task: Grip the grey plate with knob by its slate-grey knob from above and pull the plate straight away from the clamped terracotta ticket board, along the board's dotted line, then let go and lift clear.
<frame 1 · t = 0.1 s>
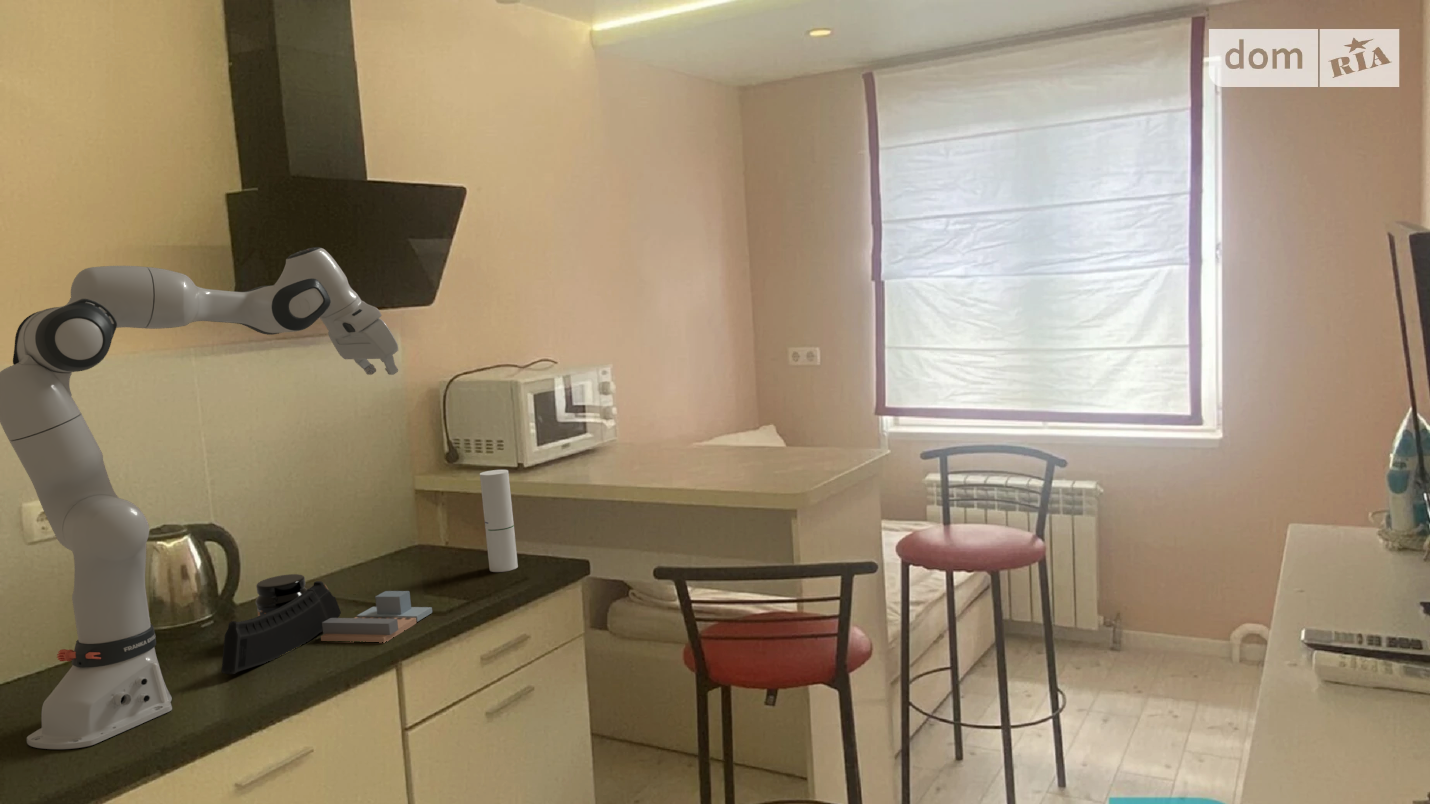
hand: (383, 373, 210), 54 cm above the worktop, tool tilted 30°, fingers open, 8 cm apart
magazine: (287, 651, 202), on the worktop
cylindrical container: (503, 568, 254), on the worktop
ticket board: (369, 632, 210), on the worktop
supplement container: (287, 635, 213), on the worktop
grey plate with knob: (393, 605, 218), point 3 cm above the worktop, slide at 0.0 cm
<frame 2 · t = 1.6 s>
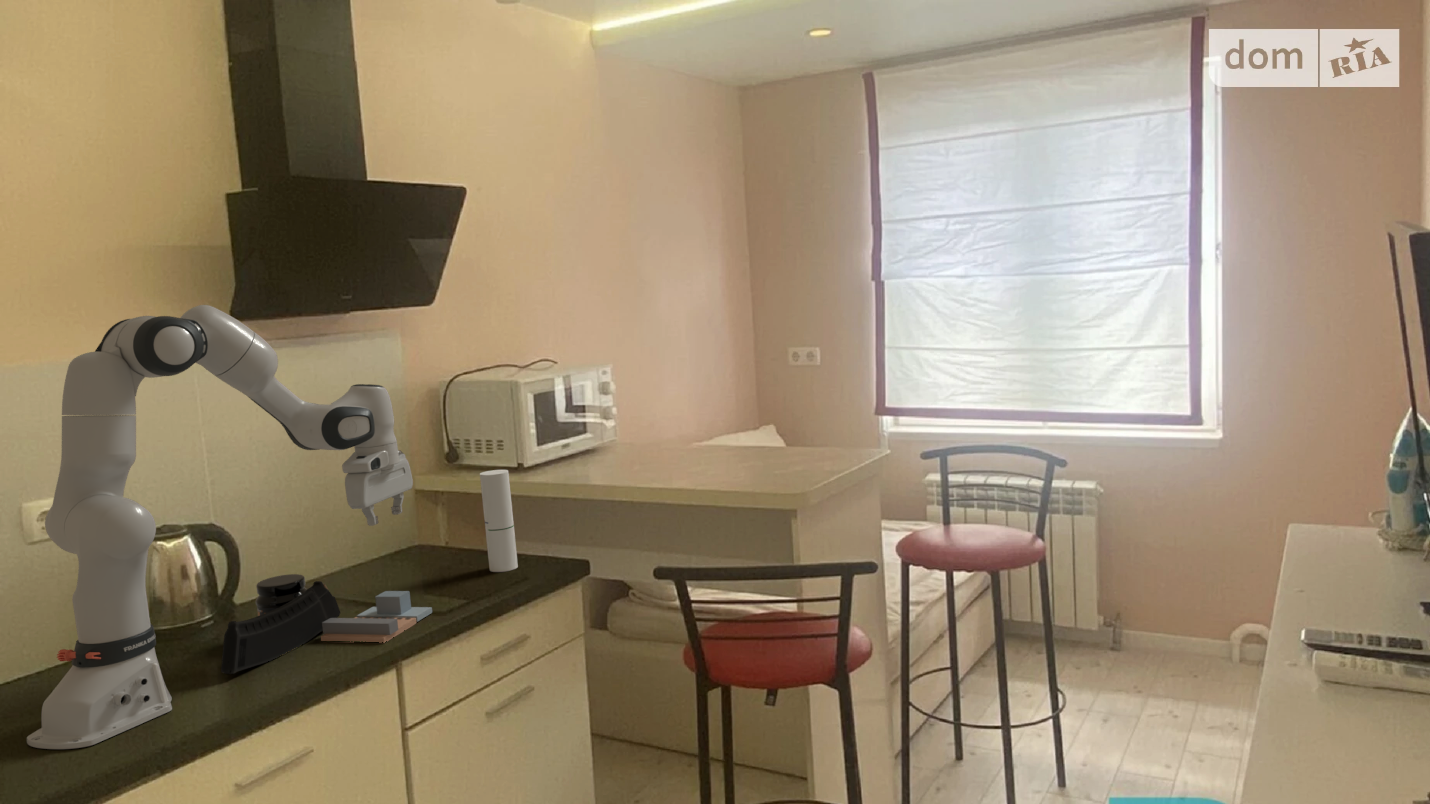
hand: (385, 519, 216), 22 cm above the worktop, tool pointing down, fingers open, 8 cm apart
nothing on the worktop moved.
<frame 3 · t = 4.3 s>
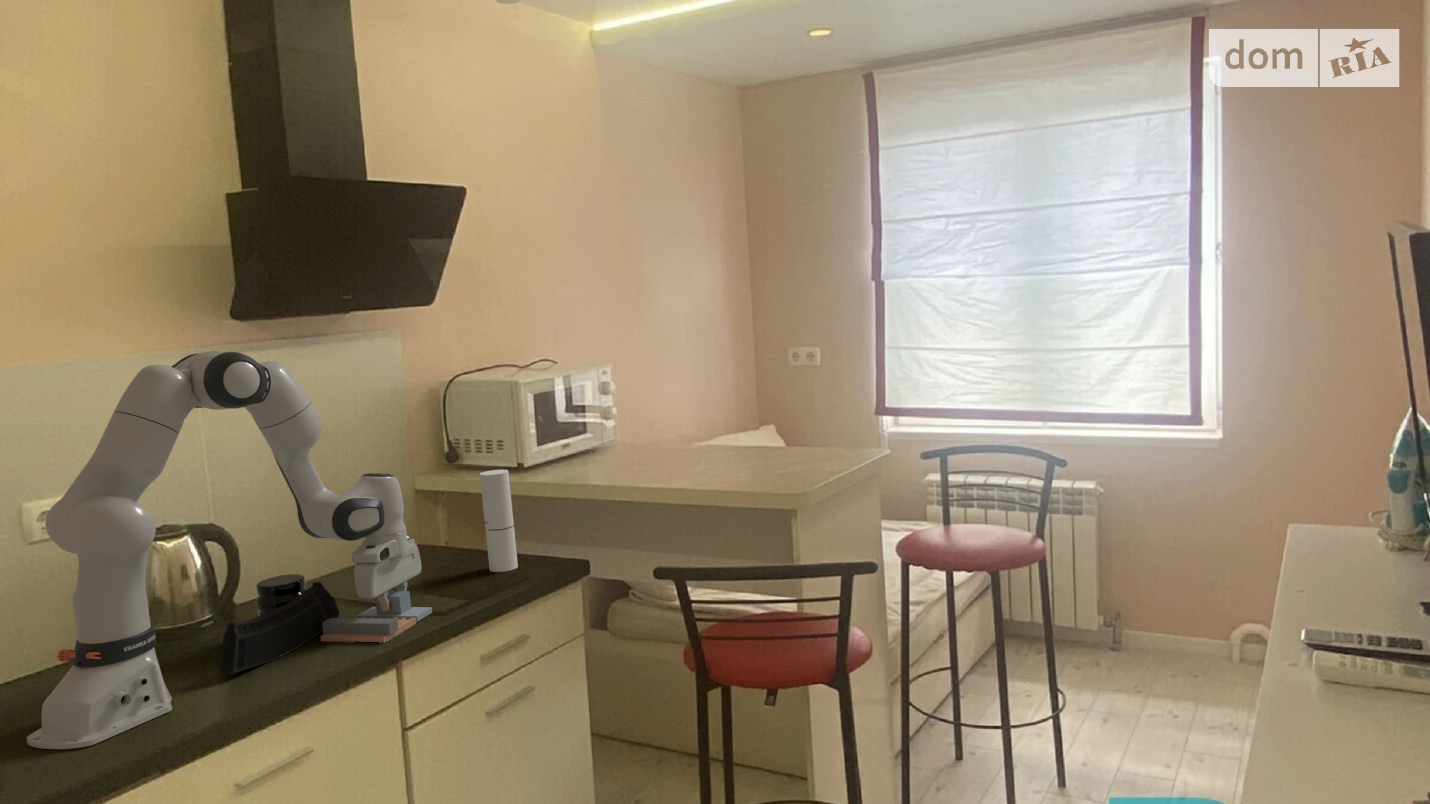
hand: (393, 606, 218), 3 cm above the worktop, tool pointing down, fingers closed on grey plate with knob, 4 cm apart
grey plate with knob: (393, 605, 218), point 3 cm above the worktop, slide at 0.0 cm, touching gripper
everything else where it was.
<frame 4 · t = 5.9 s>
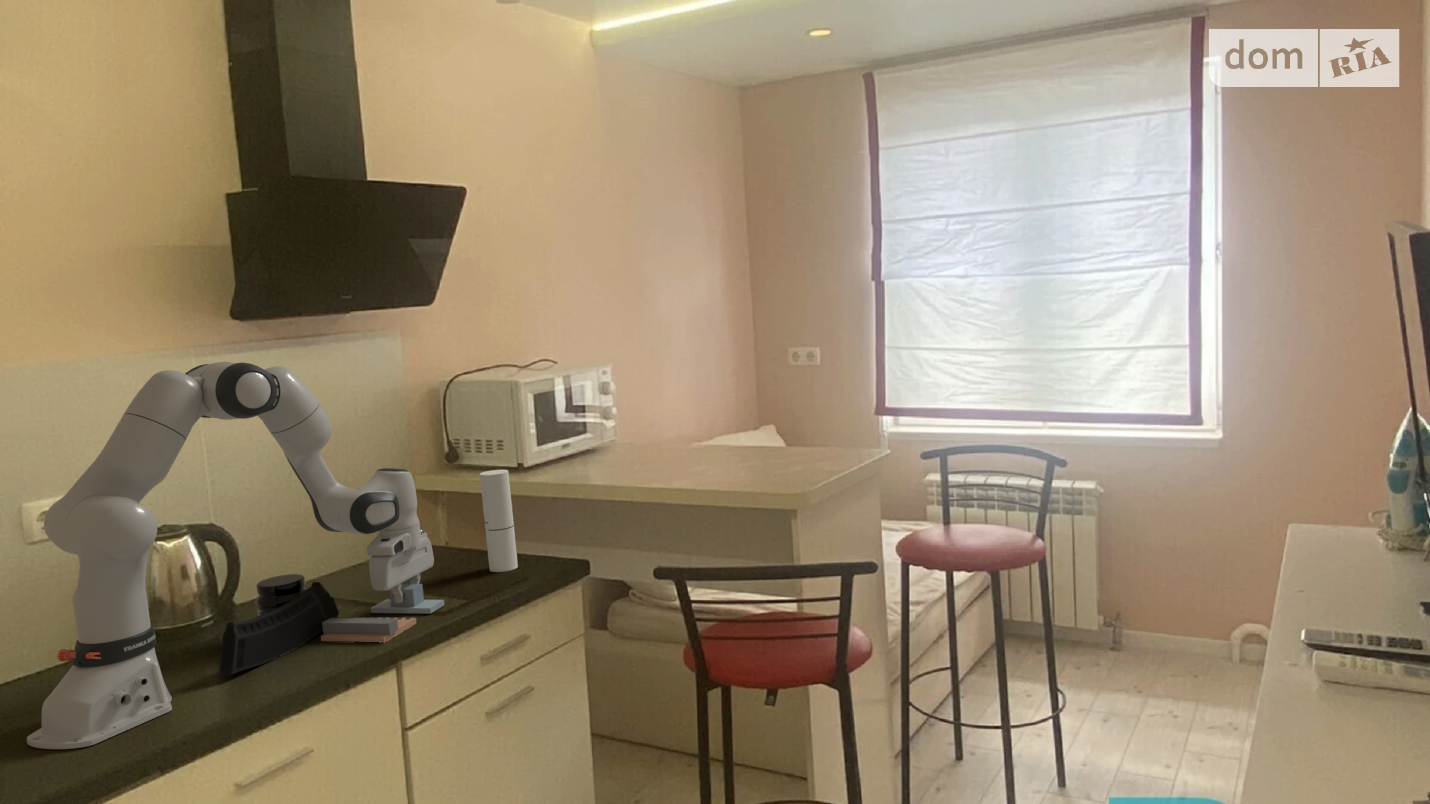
hand: (407, 598, 224), 3 cm above the worktop, tool pointing down, fingers closed on grey plate with knob, 4 cm apart
grey plate with knob: (406, 597, 223), point 3 cm above the worktop, slide at 5.3 cm, touching gripper
everything else where it was.
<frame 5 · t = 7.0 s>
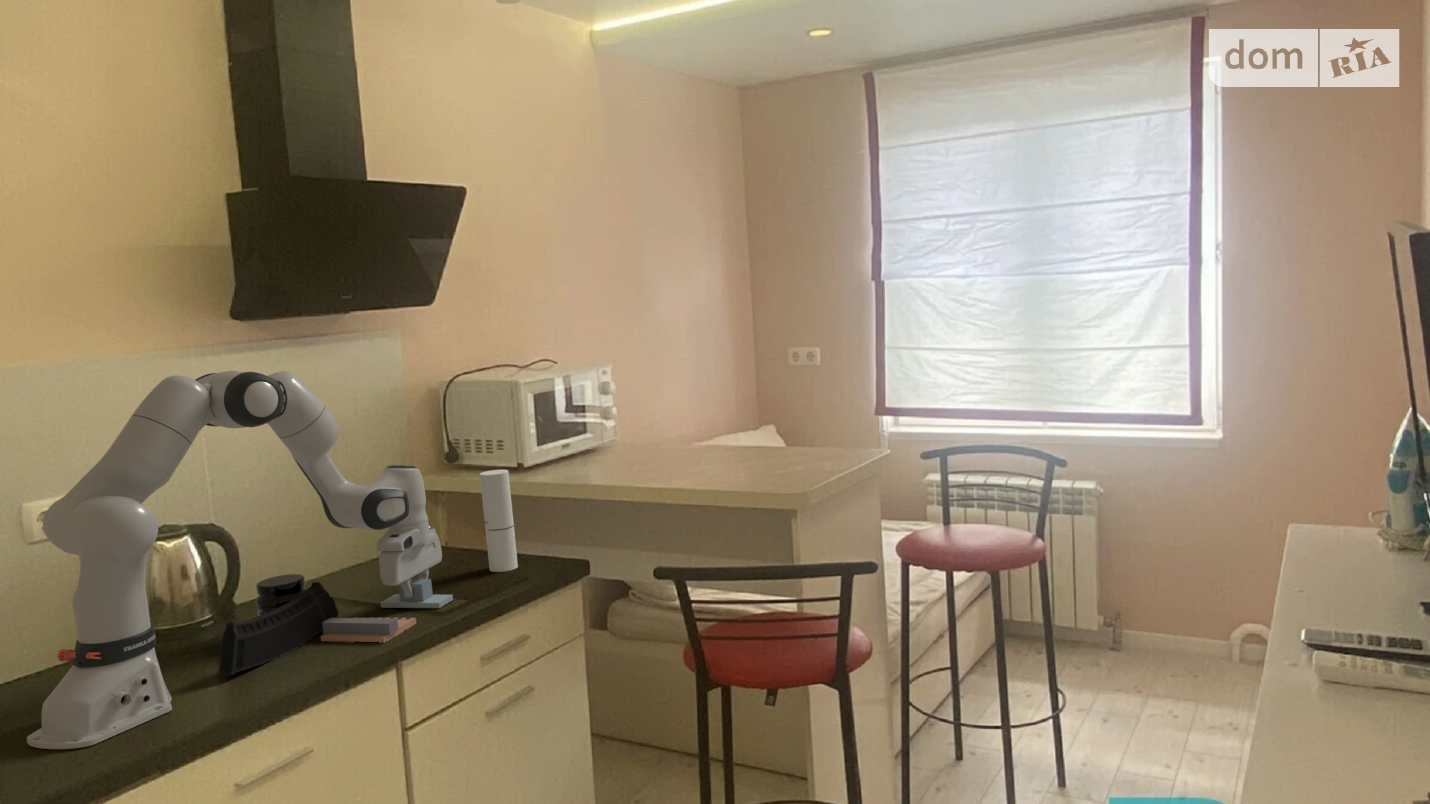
hand: (416, 593, 227), 3 cm above the worktop, tool pointing down, fingers closed on grey plate with knob, 4 cm apart
grey plate with knob: (416, 592, 227), point 3 cm above the worktop, slide at 9.0 cm, touching gripper
everything else where it was.
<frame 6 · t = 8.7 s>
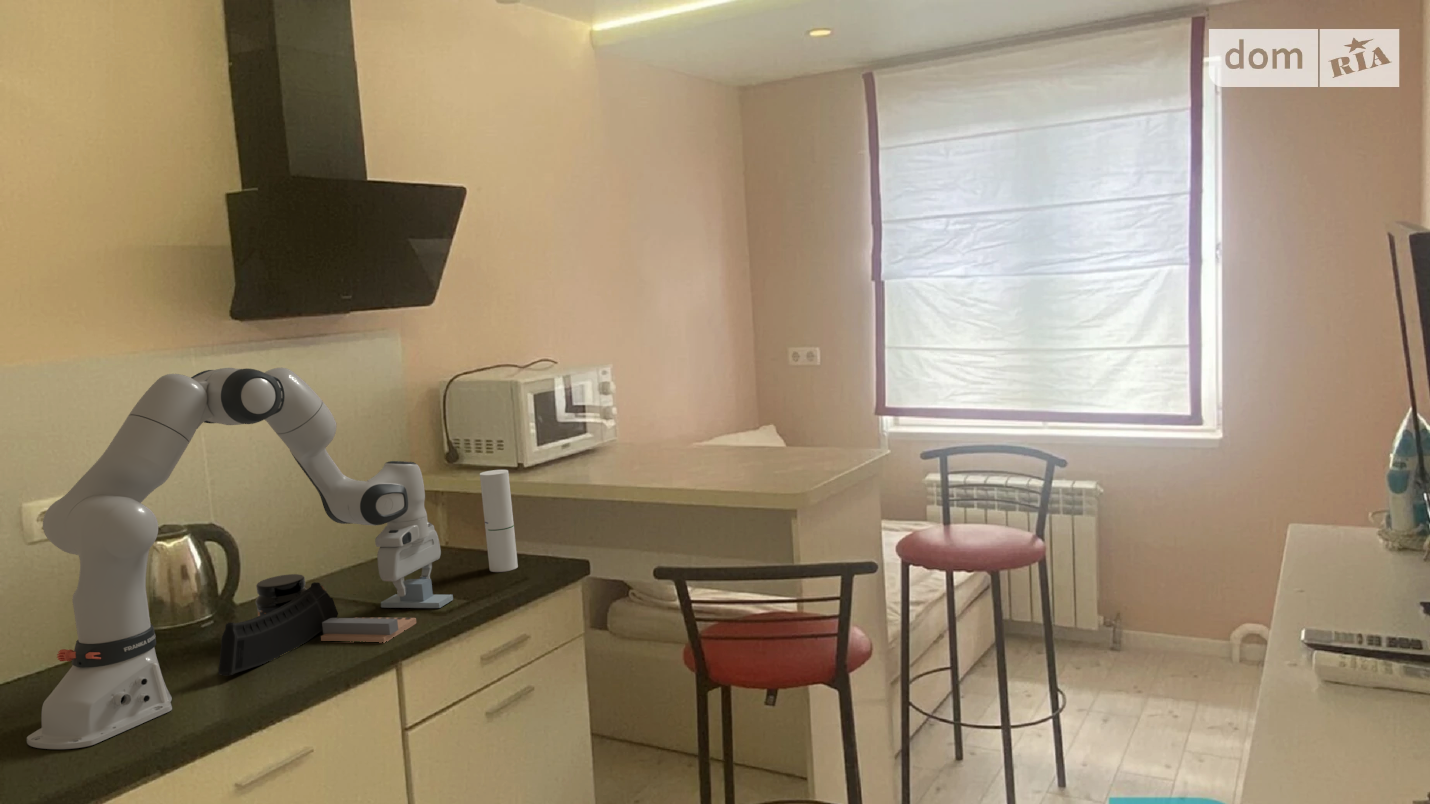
hand: (414, 589, 227), 4 cm above the worktop, tool pointing down, fingers open, 8 cm apart
grey plate with knob: (416, 592, 227), point 3 cm above the worktop, slide at 9.1 cm
everything else where it was.
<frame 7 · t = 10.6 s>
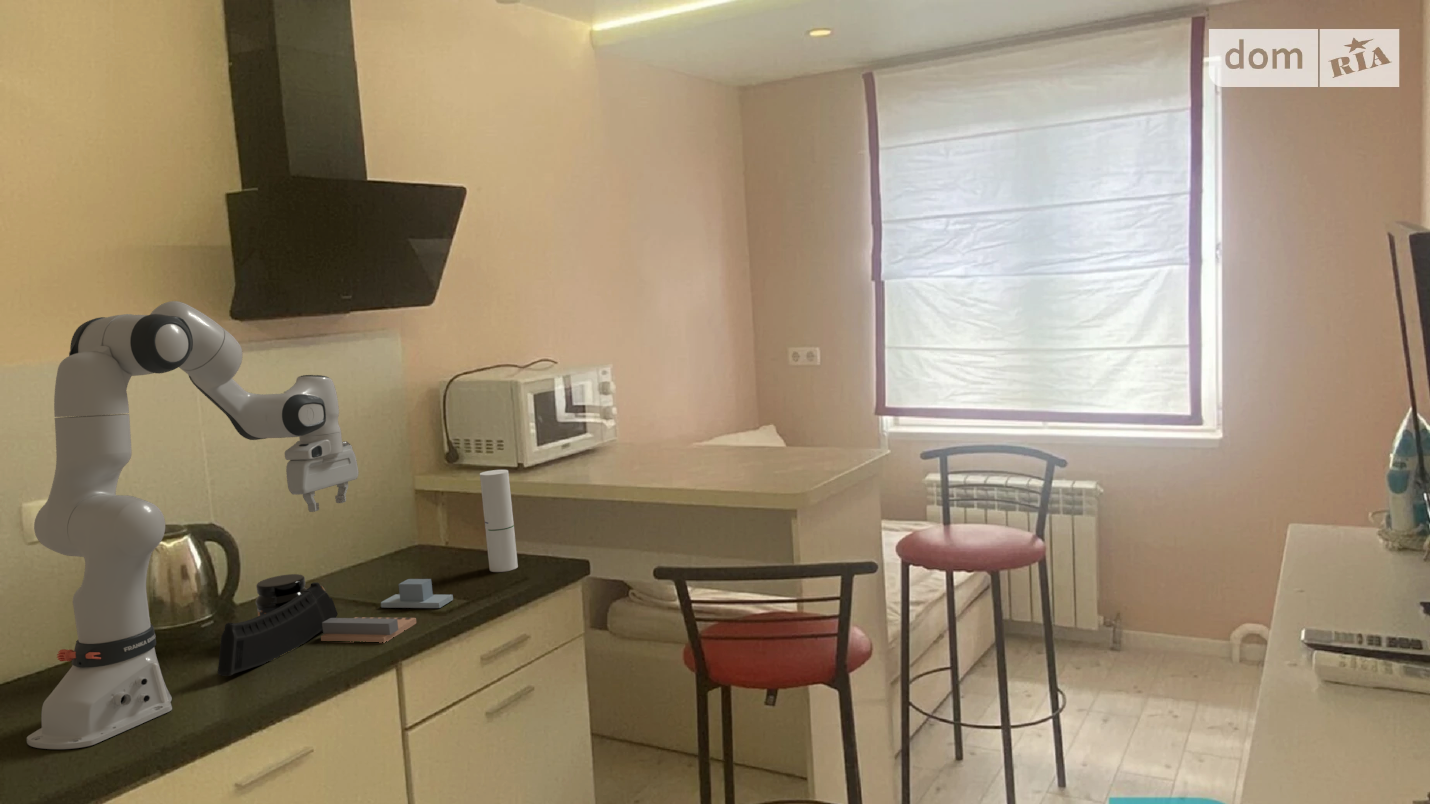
hand: (327, 506, 224), 25 cm above the worktop, tool pointing down, fingers open, 8 cm apart
nothing on the worktop moved.
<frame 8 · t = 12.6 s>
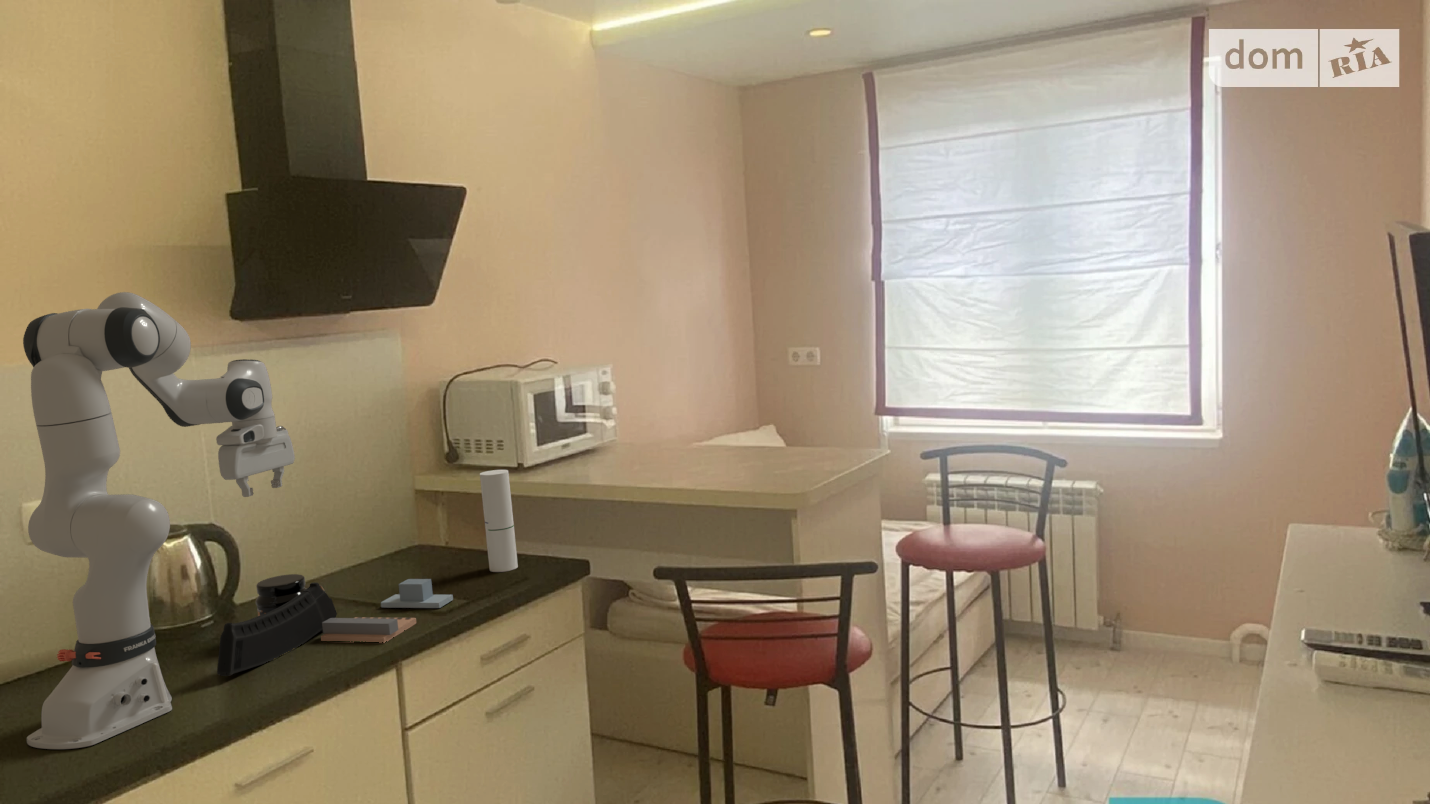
hand: (262, 491, 223), 29 cm above the worktop, tool pointing down, fingers open, 8 cm apart
at the end: grey plate with knob slide at 9.1 cm; the gripper is holding nothing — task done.
